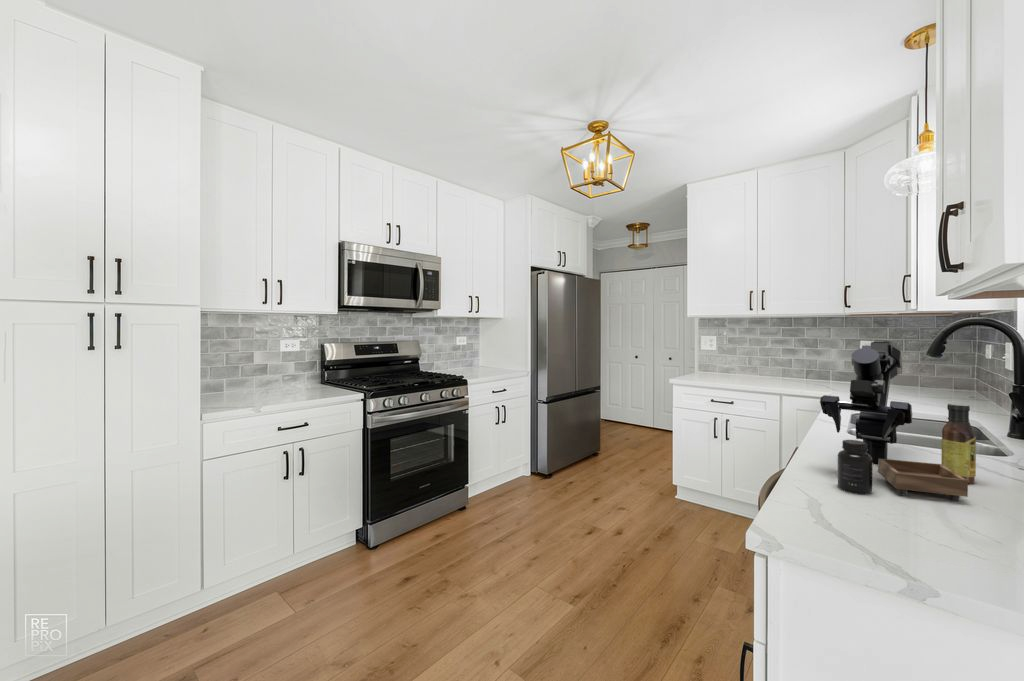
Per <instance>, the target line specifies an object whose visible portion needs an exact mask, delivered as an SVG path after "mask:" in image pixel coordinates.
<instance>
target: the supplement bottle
mask: <svg viewBox="0 0 1024 681" xmlns="http://www.w3.org/2000/svg"><path fill="white" fill-rule="evenodd" d="M841 448H842V450H840V451H839V452H838V453H837V486H838V488H839V489H840V488H841V489H840V490H841V491H844V490H845V492H847V493H850V492H851V494H855V493H857V494H856V495H869V494H872V492H873V462H872V457H871V456H870V455H869V454H867V453H866V452H867V451H868V449H867V443H865V442H863V440H859V439H843V440H842V446H841Z"/></svg>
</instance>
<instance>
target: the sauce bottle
mask: <svg viewBox="0 0 1024 681" xmlns="http://www.w3.org/2000/svg"><path fill="white" fill-rule="evenodd" d="M970 407H971V406H970V405H969V404H964V403H955V402H954V403H952V402H951V403H947V410H948V412H947V413H948V417H947V420H948V421H947V422H946V423H945V425H944V426H943V427H942V429H941V434H942V436H941V464H942V465H944V466H945V467H947V468H948V469H950V470H952V471H953V472H955V473H956V474H958V475H960V476H961V477H963V478H964V479H966V480H968V484H973V483H975V482H976V478H975V477H976V474H977V473H976V472H977V471H976V470H977V468H976V466H977V464H976V462H977V440H976V439H977V435H976V434H975V431H974V429H973V427H972V425H971V423H970V419H969V418H970V417H969V416H970V410H971V408H970Z"/></svg>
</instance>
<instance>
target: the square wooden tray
mask: <svg viewBox="0 0 1024 681" xmlns="http://www.w3.org/2000/svg"><path fill="white" fill-rule="evenodd" d="M877 472H878V474H880V476H882V477H883V478H884V480H885V482H886V483H889V484H890V485H892V486H893V487H894V488H895V489H896V490H897V492H898V494H899V495H901V496H907V495H908V491H914V492H923V493H931V494H938V495H947V497H948V499H949V500H950V501H952V502H959V501H960V497H965V498H968V495H969V493H968V492H969V491H968V490H969V486H968V485H969V483H968V480H966V479H964V478H963V477H961V476H960V475H958V474H956V473H955V472H953V471H952V470H950V469H948V468H947V467H945V466H944V465H942V463H932V462H921V461H920V462H919V461H909V460H899V459H889V458H887V459H879V458H878V463H877Z"/></svg>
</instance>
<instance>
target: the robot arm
mask: <svg viewBox="0 0 1024 681" xmlns="http://www.w3.org/2000/svg"><path fill="white" fill-rule="evenodd" d="M870 342H871V343H870V345H861V346H862V347H861V348H858V349H856V350H854V351H853V352H852V353H851V355H850V356H851V365H852V367H853V372H854V374H855V375H856V376H855V379H851V380H850V386H849V393H850V394H849V399H850V400H851V402H850V401H841V400H840V397H839V396H837V395H836V396H835V395H822V396H821V397H820V400H819V403H820V406H821V411H822V413H823V414H824V415H827V416H828V417H830V418H832V419H833V422H834V424H835V429H836V433H840V432H841V424H842V423H841V421H842V416H841V412H842V410H846V411H855V412H859V415H858V418H856V419H855V440H862V442H865V443H867V449H868V451H867V452H866V453H867V454H869V455H870V456H871V457H872V464H873V463H874V464H878V458H879V459H888V455H889V454H888V453H889V452H888V449H889V448H888V446H889V444H891V445H893V444H897V443H898V436H897V428H898V427H899V426H904V425H905V424H909V425H910V424H912V423H913V408H912V404H911V403H910V402H907V401H905V402H904V401H893V400H891V401H890V402H889V406H888V399H889V392H890V387H891V386H890V385H891V380H892V379H893V378H894V377H897V376H898V375H899V369H902V366H903V365H902V363H903V358H902V352H901V350H900V349H898V348H896V347H894V346H893V342H892V341H891V342H890V341H889V340H888V341H886V340H885V341H880V340H878V341H877V340H876V341H870Z"/></svg>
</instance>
